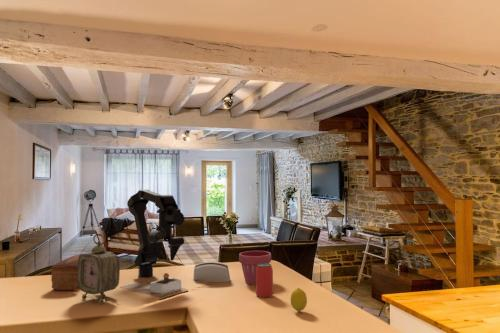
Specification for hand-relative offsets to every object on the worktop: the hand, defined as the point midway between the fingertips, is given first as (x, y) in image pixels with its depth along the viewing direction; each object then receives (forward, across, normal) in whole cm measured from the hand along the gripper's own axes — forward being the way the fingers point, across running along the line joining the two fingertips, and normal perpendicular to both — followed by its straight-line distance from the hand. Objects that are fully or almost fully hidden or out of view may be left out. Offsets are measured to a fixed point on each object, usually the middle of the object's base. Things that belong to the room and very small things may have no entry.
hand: (164, 259), depth 165 cm
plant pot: (+11, +31, +26) cm, 41 cm away
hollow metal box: (+10, +12, -10) cm, 18 cm away
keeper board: (+11, +4, -10) cm, 15 cm away
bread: (+12, -33, -21) cm, 41 cm away
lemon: (+10, +66, +2) cm, 67 cm away
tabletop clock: (+11, -3, -30) cm, 32 cm away
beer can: (+10, +46, +11) cm, 48 cm away
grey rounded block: (+11, +14, +16) cm, 23 cm away
